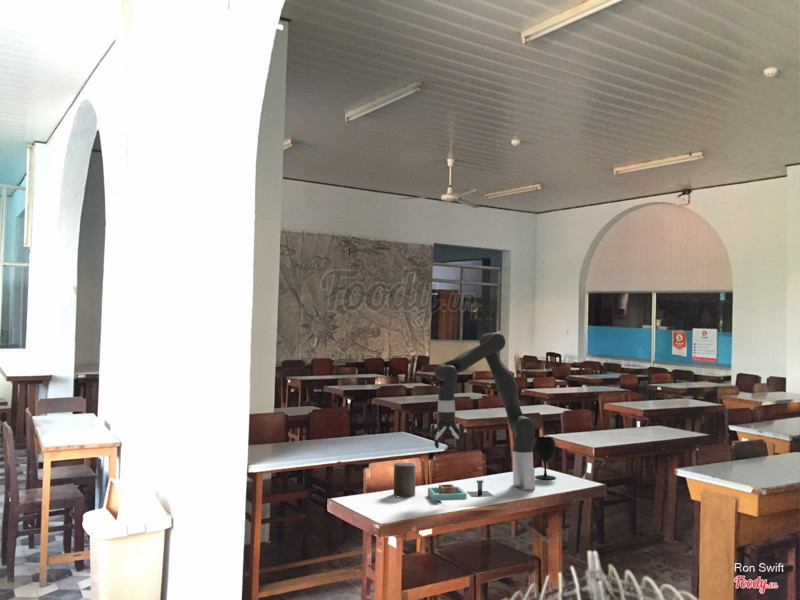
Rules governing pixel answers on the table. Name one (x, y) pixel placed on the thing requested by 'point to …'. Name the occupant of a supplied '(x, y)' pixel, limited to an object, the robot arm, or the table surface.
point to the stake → (480, 491)
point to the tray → (438, 497)
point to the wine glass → (545, 454)
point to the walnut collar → (446, 489)
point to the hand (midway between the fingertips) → (446, 447)
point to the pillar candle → (404, 479)
